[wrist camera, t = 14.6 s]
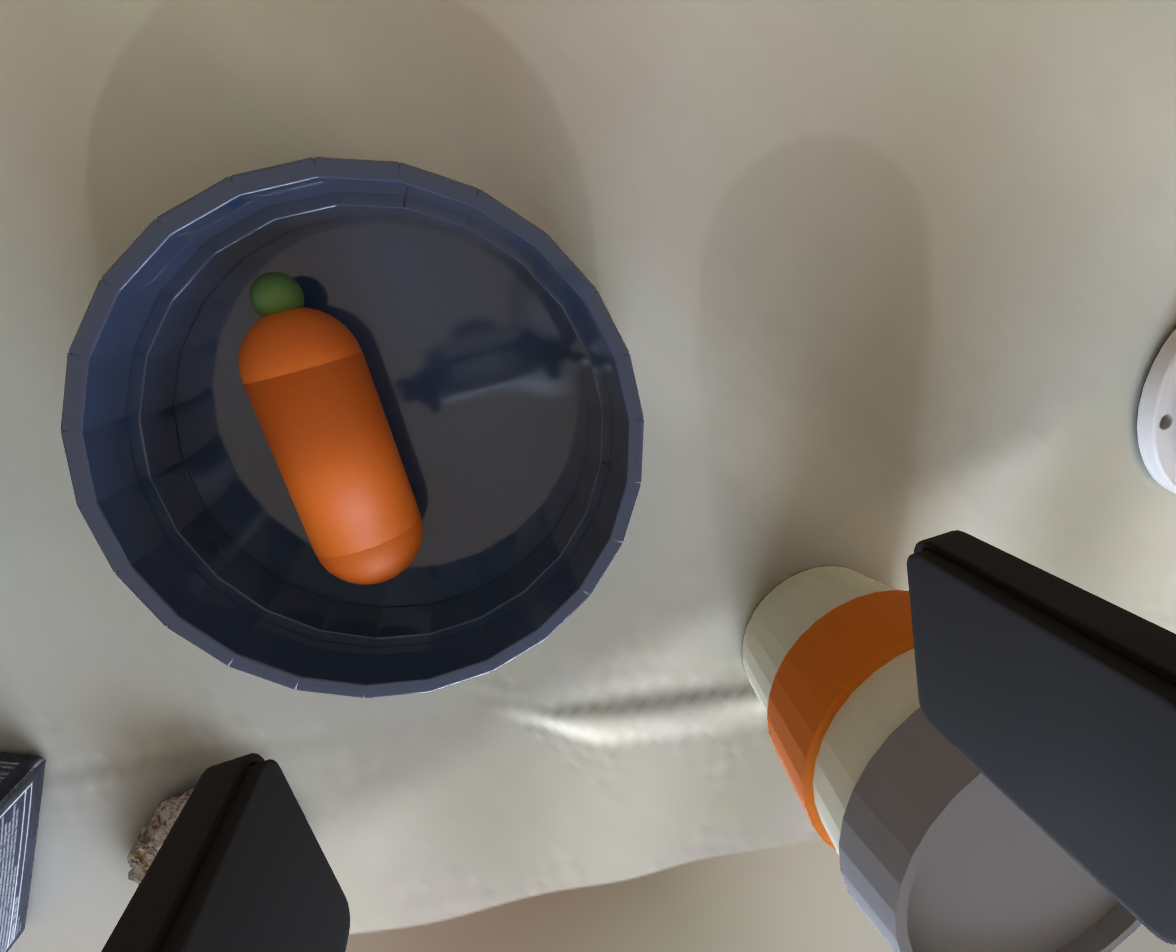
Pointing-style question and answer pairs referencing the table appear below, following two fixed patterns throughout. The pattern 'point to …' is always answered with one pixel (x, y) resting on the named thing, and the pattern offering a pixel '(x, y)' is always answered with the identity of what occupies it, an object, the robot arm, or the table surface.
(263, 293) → the carrot
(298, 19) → the table surface
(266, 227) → the blue round bowl
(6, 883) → the small box
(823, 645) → the reusable coffee cup
